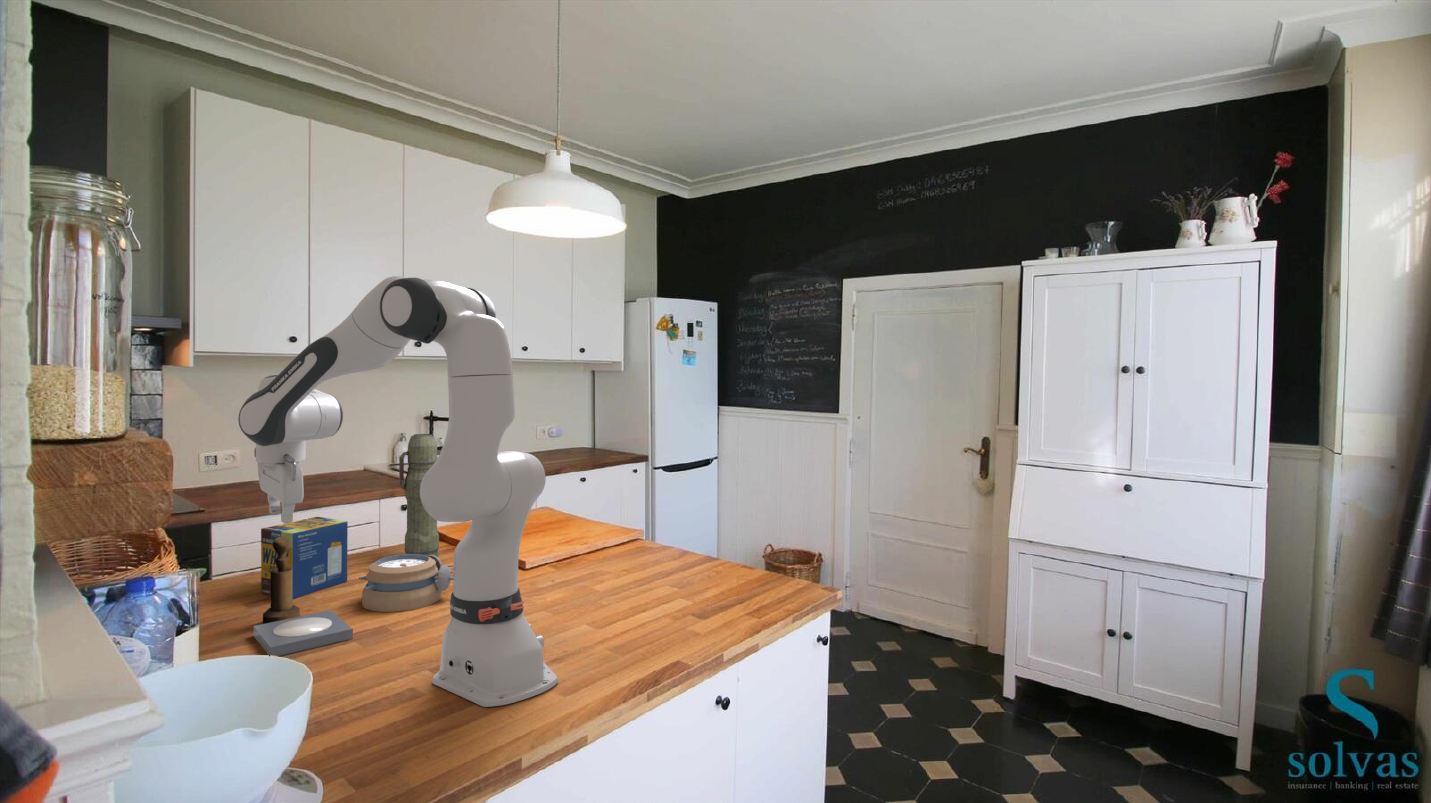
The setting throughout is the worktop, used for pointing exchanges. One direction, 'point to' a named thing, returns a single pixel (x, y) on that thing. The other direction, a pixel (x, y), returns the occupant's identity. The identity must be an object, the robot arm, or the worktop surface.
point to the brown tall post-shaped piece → (281, 586)
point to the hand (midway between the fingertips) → (280, 518)
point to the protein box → (307, 554)
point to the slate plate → (302, 633)
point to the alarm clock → (405, 582)
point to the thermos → (419, 522)
